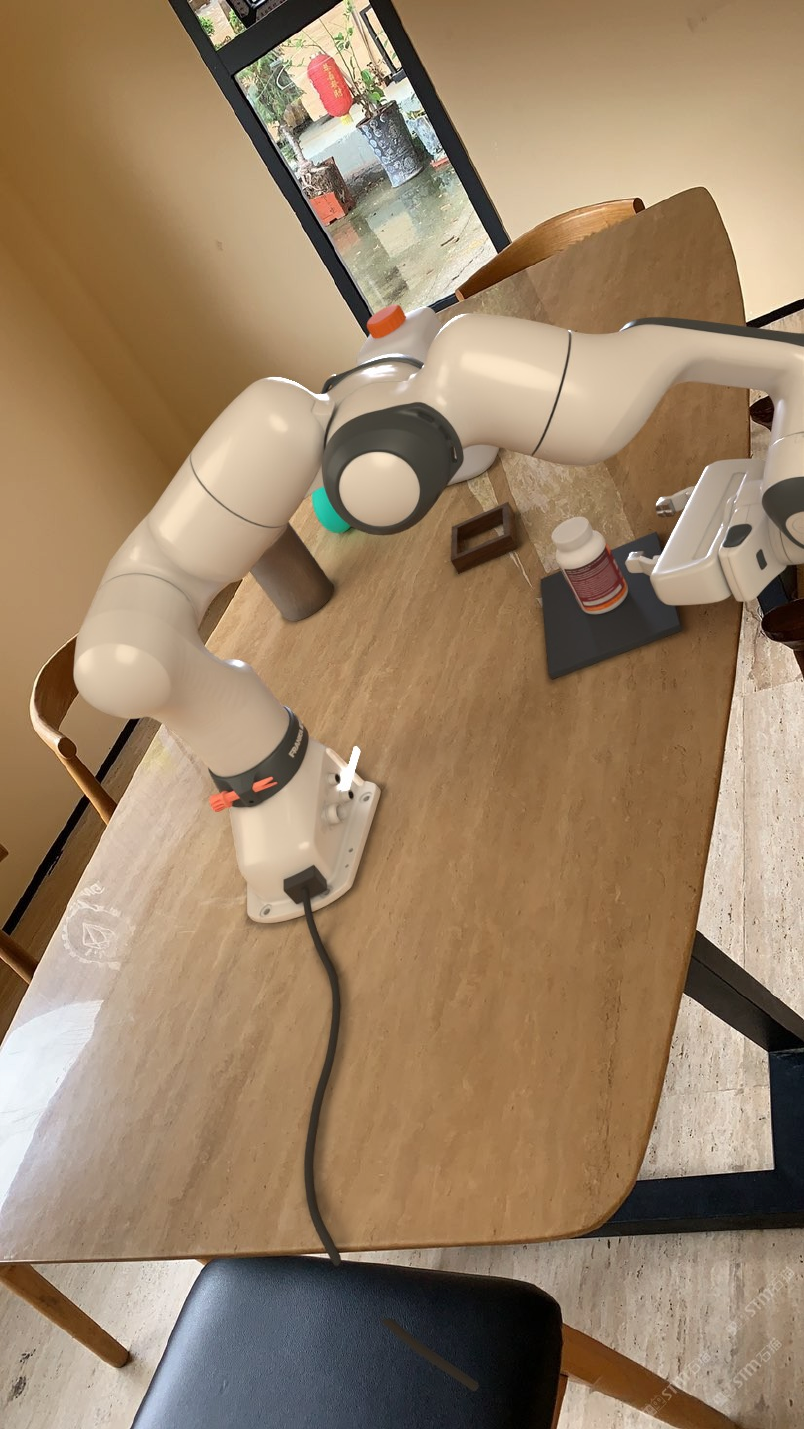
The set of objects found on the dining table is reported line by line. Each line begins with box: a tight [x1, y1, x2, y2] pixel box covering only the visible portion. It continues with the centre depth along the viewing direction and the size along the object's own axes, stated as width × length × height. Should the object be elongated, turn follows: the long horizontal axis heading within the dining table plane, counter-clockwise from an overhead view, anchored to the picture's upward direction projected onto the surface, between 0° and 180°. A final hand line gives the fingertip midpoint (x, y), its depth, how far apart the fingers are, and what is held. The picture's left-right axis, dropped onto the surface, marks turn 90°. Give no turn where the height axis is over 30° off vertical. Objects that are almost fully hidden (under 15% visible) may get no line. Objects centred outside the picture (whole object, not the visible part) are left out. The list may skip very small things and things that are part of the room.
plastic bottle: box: [355, 303, 500, 487], centre depth 168 cm, size 15×15×28 cm
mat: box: [539, 531, 684, 680], centre depth 127 cm, size 20×16×1 cm
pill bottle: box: [550, 516, 628, 614], centre depth 124 cm, size 6×6×11 cm
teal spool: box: [311, 487, 352, 534], centre depth 176 cm, size 10×10×10 cm
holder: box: [450, 501, 518, 575], centre depth 152 cm, size 9×9×2 cm
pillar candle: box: [249, 520, 335, 622], centre depth 164 cm, size 10×10×15 cm
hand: (644, 534), depth 115 cm, fingers open, 8 cm apart
